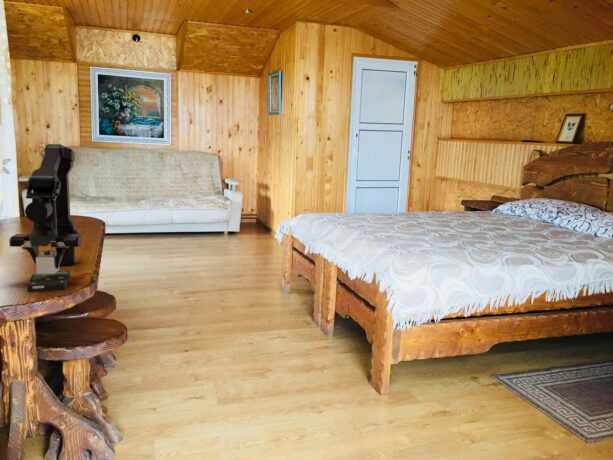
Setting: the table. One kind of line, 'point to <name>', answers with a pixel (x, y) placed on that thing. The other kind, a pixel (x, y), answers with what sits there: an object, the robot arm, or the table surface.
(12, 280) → the table surface
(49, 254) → the housing
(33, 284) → the disk drive
